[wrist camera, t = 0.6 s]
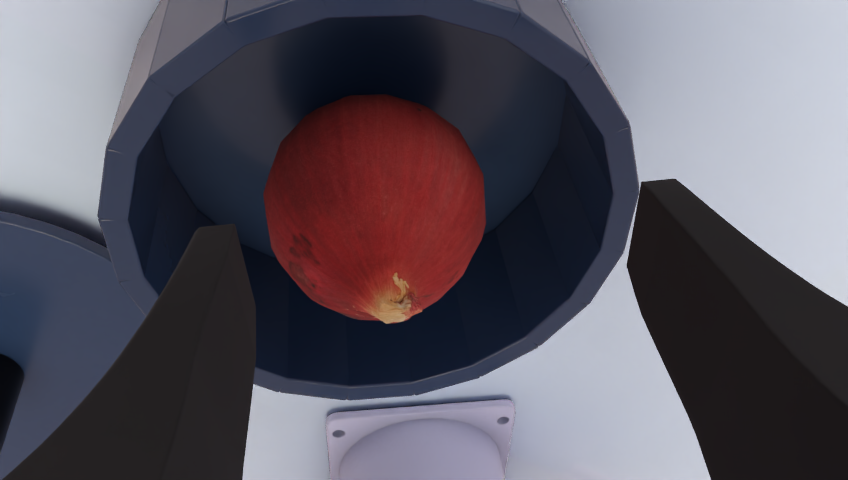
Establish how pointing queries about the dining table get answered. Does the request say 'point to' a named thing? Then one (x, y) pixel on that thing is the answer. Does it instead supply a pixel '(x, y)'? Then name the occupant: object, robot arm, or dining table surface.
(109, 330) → the lid
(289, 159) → the onion
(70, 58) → the dining table surface
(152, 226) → the pot
